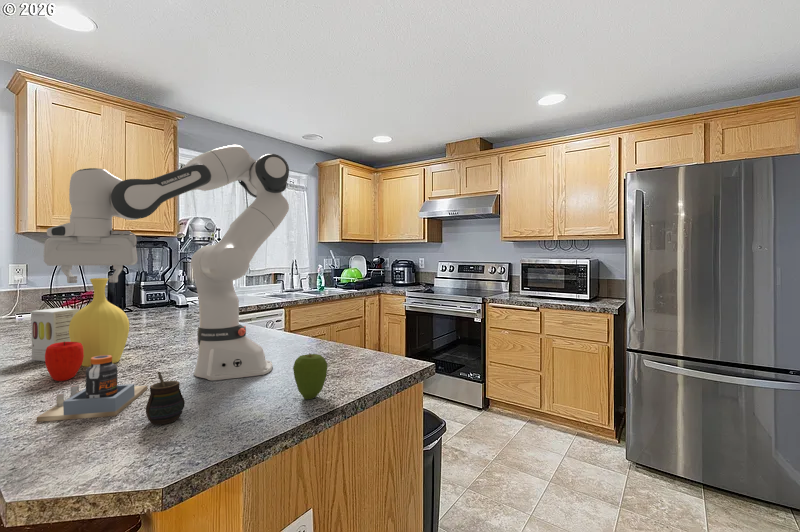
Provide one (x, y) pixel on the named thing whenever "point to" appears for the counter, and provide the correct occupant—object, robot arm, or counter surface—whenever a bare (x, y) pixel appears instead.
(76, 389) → the clips
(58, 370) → the apple
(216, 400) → the counter surface
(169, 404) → the mate gourd
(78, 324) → the vase
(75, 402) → the end holder
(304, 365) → the apple
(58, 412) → the board
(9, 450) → the counter surface
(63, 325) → the supplement box
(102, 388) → the pill bottle
